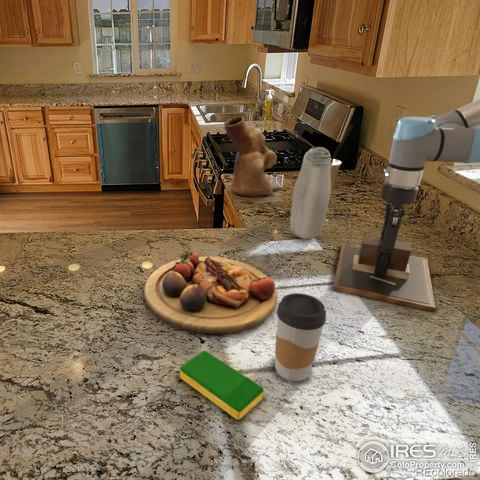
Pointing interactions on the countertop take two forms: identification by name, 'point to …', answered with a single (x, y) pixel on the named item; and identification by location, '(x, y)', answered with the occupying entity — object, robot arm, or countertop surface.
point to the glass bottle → (311, 194)
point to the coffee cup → (298, 335)
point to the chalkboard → (386, 282)
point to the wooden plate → (210, 294)
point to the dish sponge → (221, 384)
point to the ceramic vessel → (249, 158)
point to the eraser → (370, 255)
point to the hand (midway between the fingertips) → (380, 268)
